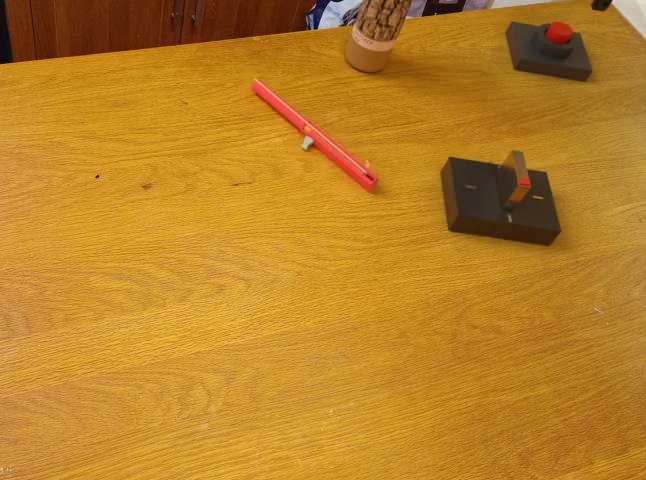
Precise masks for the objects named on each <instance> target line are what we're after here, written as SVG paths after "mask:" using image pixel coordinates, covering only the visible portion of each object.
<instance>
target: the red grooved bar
mask: <svg viewBox="0 0 646 480" xmlns="http://www.w3.org/2000/svg"><path fill="white" fill-rule="evenodd" d="M253 81H254V83H253V84H252V87H251V88H252V89H251V90H252V91H254V92H255V93H256V94H257V95H258V96H260V97H261V98H262V99H263V100H264V101H265V102H267V103H268V104H269V105H270V106H271V107H273V108H274V109H275V110H276V111H277V112H278V113H279V114H281V116H283V118H285V119H286V120H287V121H289V122H290V123H291V124H293V125H294V126H295V127H296V128H297V129H299V131H300V132H301V133H302V134H304V135H305V137H304V138H303V143H302V144H301V149H302V150H303V151H307V150H308V148H309V147H310V146H311V145H313V146H314V147H315V148H317V150H318V151H320V152H321V153H322V154H324V155H325V156H326V157H327V158H329V160H331V161H332V162H333V163H334V164H335V165H336V166H338V168H340V169H341V170H342V171H344V173H346V174H347V175H348V176H350V177H351V179H353V180H354V181H355V182H357V184H359V185H360V186H361V187H363V188H364V189H365V190H366V191H367V192H371V191H372V190H373V188H374V187H375V186H376V185H377V184H378V181H379V176H378V175H377V174H376V173H374V172H373V171H372V170H371V169H369V168H370V162H369V160H368V159H365V160H364V161H365V164H364V163H362V162H361V161H359V159H357V158H356V157H355V156H354V155H352V154H351V153H350V152H349V151H348V150H347V149H346V148H344V147H343V146H342V145H341V144H339V143H338V142H337V141H336V140H334V139H333V137H331V136H329V134H327V133H326V132H325V131H324V130H322V128H321V127H320V126H318V125H317V124H316V123H315V122H314V121H312V120H311V119H310V118H309V119H308V118H306V117H305V116H303V114H301V113H300V112H299V111H298V110H297V109H295V108H294V107H293V106H292V105H291V104H289V103H288V102H287V101H286V100H284V99H283V98H282V97H281V96H279V94H277V93H276V92H275V91H274V90H273V89H272V88H270V87H269V86H268V85H266V84H265V83H264V82H263V81H262V80H261V79H257V78H253Z"/></svg>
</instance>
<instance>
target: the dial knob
mask: <svg viewBox="0 0 646 480" xmlns="http://www.w3.org/2000/svg"><path fill="white" fill-rule="evenodd" d="M500 165H501V167H500V168H499V170H498V171H497V173H496V180H497V185H498V190H499V196H500V201H501V206H502V209H503V210H509V211H514V210H515V208H516V207H517V206H518V204H519V203H520V202H521V200H522V199H523V197H524V196H525V195H526V193H527V192H528V191H529V189H530V188H531V184H530V179H529V176H528V172H527V169H528V167H527V163H526V159H525V155H524V151H520V150H513V149H511V150H510V152H509V153H508V154H507V156H506V157H505V159H504V161H503V162H502V164H500Z"/></svg>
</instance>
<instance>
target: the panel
mask: <svg viewBox="0 0 646 480" xmlns="http://www.w3.org/2000/svg"><path fill="white" fill-rule="evenodd" d="M501 165H502V164H501V163H492V162H487V161H480V160H475V159H474V160H473V159H468V158H461V157H456V156H448V158H447V160H446V162H445V163H444V165H443V167H442V168H441V171H440V179H441V186H442V192H443V199H444V200H443V201H444V207H445V208H444V209H445V216H446V221H447V222H446V223H447V227H448V228H447V230H448V231H450V232H455V233H463V234H468V235H476V236H482V237H488V238H494V239H501V240H507V241H513V242H514V241H515V242H520V243H527V244H533V245H541V246H546V247H550V246H551V245H552V244H553V242H554V241H555V240H556V239H557V238H558V236H559V235H560V234H561V233H562V228H561V223H560V219H559V215H558V211H557V208H556V203H555V199H554V195H553V191H552V187H551V183H550V180H549V176H548V172H547V171H543V170H537V169H536V170H535V169H530V168H527V172H528V176H529V179H530V184H531V188H530V189H529V191H528V192H527V193H526V195H525V196H524V197H523V199H522V200H521V202H520V203H519V204H518V206H517V207H516V208H515V210H514V211H509V210H503V209H502V206H501V201H500V196H499V190H498V185H497V180H496V173H497V171H498V170H499V168H500V167H501Z"/></svg>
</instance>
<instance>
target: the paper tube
mask: <svg viewBox="0 0 646 480" xmlns="http://www.w3.org/2000/svg"><path fill="white" fill-rule="evenodd" d="M413 2H414V0H362V1H361V4H360V7H359V10H358V12H357V15H356V18H355V21H354V24H353V27H352V30H351V32H350V36H349V39H348V42H347V44H346V46H345V50H344V56H345V61H347V63H348V64H349V65H350V66H351V67H353V68H354V69H356V70H358V71H360V72H364V73H376V72H380V71H381V70H383V69H385V67H386V66H387V64H388V61H389V59H390V57H391V54H392V52H393V50H394V47H395V45H396V43H397V40H398V38H399V36H400V34H401V30H402V29H403V25H404V24H405V20H406V19H407V16H408V14H409V11H410V9H411V6H412V5H413Z"/></svg>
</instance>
